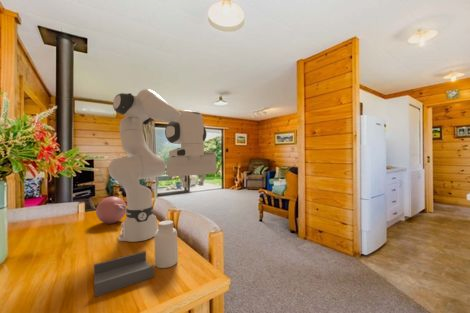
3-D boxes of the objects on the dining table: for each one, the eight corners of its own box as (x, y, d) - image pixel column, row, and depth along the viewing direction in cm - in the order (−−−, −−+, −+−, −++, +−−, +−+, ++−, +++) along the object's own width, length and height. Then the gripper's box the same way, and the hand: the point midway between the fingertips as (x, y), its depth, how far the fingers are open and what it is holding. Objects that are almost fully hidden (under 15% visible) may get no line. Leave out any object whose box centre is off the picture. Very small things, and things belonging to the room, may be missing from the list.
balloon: (108, 230, 109) (107, 201, 109) (91, 224, 121) (91, 197, 121) (136, 222, 122) (135, 196, 122) (118, 217, 133) (118, 193, 133)
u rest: (94, 275, 69) (94, 264, 69) (145, 260, 78) (145, 251, 78) (94, 296, 59) (94, 284, 59) (153, 277, 68) (153, 266, 68)
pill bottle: (169, 255, 82) (169, 217, 82) (182, 262, 77) (181, 221, 77) (150, 263, 76) (149, 223, 76) (162, 271, 71) (162, 227, 71)
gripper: (212, 151, 91) (212, 183, 91) (164, 151, 79) (165, 188, 79) (219, 151, 85) (219, 184, 86) (169, 151, 74) (170, 190, 74)
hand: (193, 186), depth 82 cm, fingers open, 5 cm apart
